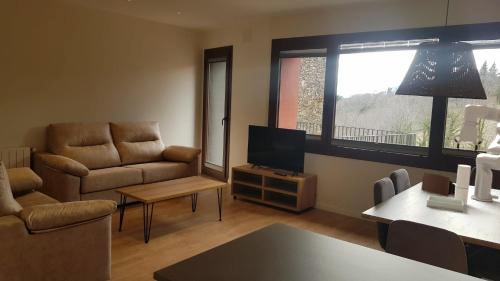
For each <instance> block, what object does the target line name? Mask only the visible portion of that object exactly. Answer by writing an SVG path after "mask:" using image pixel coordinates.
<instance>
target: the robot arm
mask: <svg viewBox="0 0 500 281" xmlns="http://www.w3.org/2000/svg"><path fill="white" fill-rule="evenodd" d="M478 119H480V120H488V121H492V122H497V123H498V124H496V127H495V139H494V140H493V141H492V143H491V144H490V145H489V146H488V147H487V149H486V153H485V152H484V153H479V154H477V156H476V158H475V165H476V166H475V167H476V172H475V180H474V191H473V194H472V195H471V196H470V198H471V200H472V199H473V200H475V201H479V202H486V203H488V202H493V200H494V199H495V200H499V196H497V195H493V194H492V193H491V192H492V191H491V190H492V183H493V171H492V170H496V171H500V108H496V107H489V106H487V105H481V104H467V105H465V106H464V114H463V120H462V122H463V123H462V125H461V126H460V131H459V134H456V135H454V136H452V139H453V140H454V142H455V143H456V149H457V150H458V151H459V150H460V145H461V144H460V143H461V142H468V143H474V144H475V146H474V152H477V151H478V150H479V149H478V148H479V145H480V144H482V143H483V141H484V140H485V139H484V138H482V137H481V136H479V135H478V133H479V131H478V130H479V128H478V126H480V122H478ZM458 137H459V138H458ZM457 138H458V139H459V140H457ZM478 139H479V141H478Z"/></svg>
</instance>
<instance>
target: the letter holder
mask: <svg viewBox="0 0 500 281" xmlns="http://www.w3.org/2000/svg"><path fill="white" fill-rule="evenodd" d="M422 190H423V191H424V192H426V191H427V193H431V194H436V195H440V196H444V197H446V198H449V197H451V196H455V191H456V184H455V183H453V181H452V180H451V179H450V178H449V177H448V176H446V175H441V174H436V173H430V172H429V173H428V172H424V173H423V174H422V181H421V191H422Z"/></svg>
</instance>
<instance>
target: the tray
mask: <svg viewBox="0 0 500 281" xmlns="http://www.w3.org/2000/svg"><path fill="white" fill-rule="evenodd" d="M464 206H465V205H464V203H463V200H458V199H455V198H452V197H451V198H449V197H445V196H444V197H441V196H436V195H428V196H427V200H426V207H429V208H434V209H435V208H436V209H440V210H448V211H454V212H460V213H461V212H462V213H463V212H464Z"/></svg>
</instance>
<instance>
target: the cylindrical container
mask: <svg viewBox="0 0 500 281" xmlns="http://www.w3.org/2000/svg"><path fill="white" fill-rule="evenodd" d="M457 166H458V167H457V174H456V181H455V182H456V184H455V186H456V187H455V195H454V199H458V200H463V203H464V206H467V205H468V196H469V188H470V187H469V186H470V181H471V180H470V177H471V170H472V169H471V168H472V166H471V165H467V164H457Z"/></svg>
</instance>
